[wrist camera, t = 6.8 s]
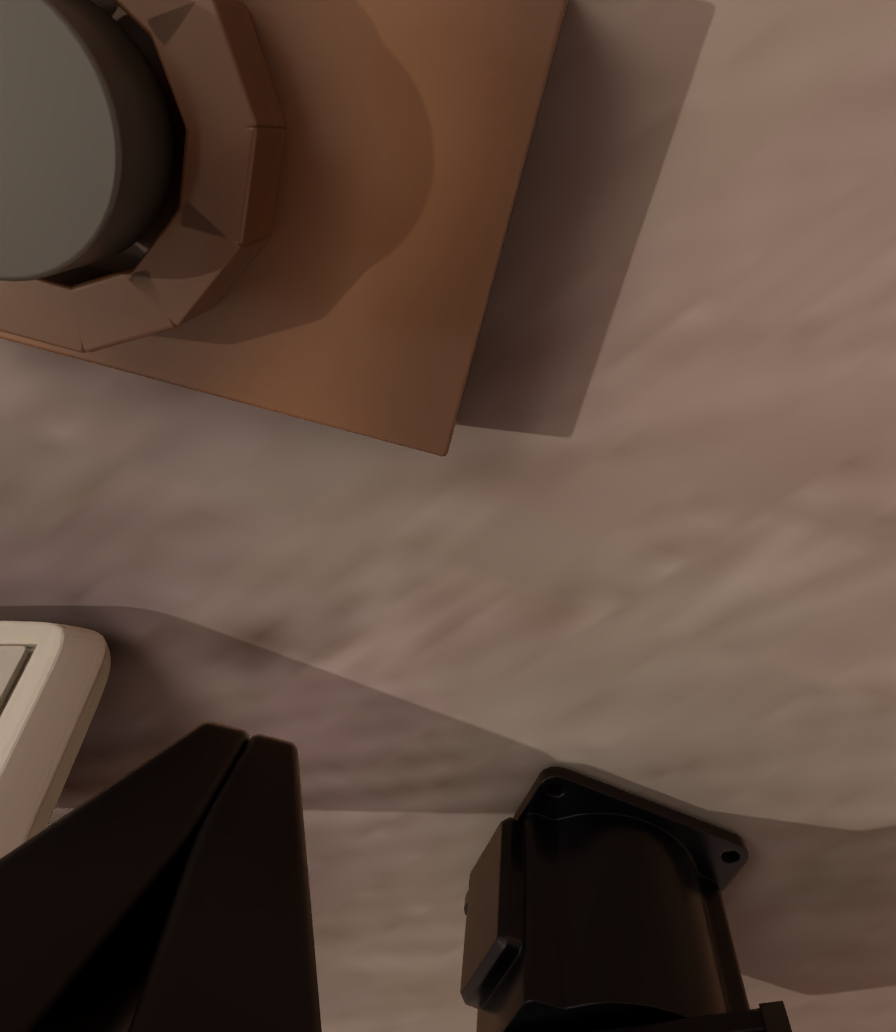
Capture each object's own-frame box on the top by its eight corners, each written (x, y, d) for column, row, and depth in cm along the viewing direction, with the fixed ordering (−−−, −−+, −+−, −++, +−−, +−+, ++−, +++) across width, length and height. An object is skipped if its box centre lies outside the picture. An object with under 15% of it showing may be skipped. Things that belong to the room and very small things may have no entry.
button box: (570, -10, 15) (583, -55, 12) (454, 425, 19) (437, 492, 16) (-49, -184, 15) (-231, -286, 12) (-41, 292, 19) (-175, 329, 15)
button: (188, 20, 13) (131, 0, 11) (162, 292, 15) (111, 313, 13) (-82, -55, 13) (-184, -88, 11) (-72, 228, 15) (-158, 241, 13)
